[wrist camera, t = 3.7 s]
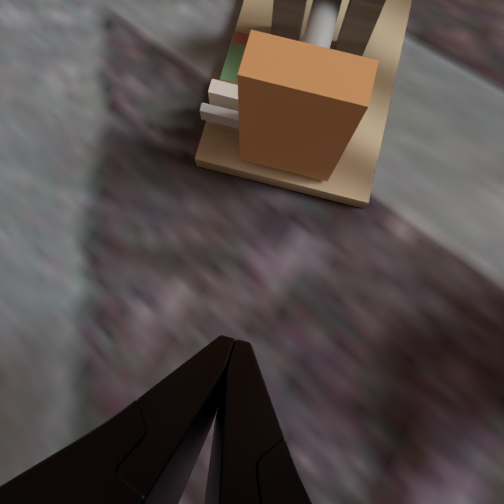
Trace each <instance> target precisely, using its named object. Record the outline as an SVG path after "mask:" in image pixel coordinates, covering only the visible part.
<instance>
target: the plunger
mask: <svg viewBox="0 0 504 504" xmlns="http://www.w3.org/2000/svg"><path fill="white" fill-rule="evenodd" d="M341 3H342V0H313V3H312V6H311V10H310V14H309V17H308V21H307V25H306V28H305V32H304V36H303V39H302V42H301V41H296V40H292V39H288V38H284V37H280V36H276V35H272V34H268V33H263V32H259V31H255V30H251V32H250V35H249V38H248V41H247V45H246V48H245V51H244V55H243V58H242V61H241V65H240V68H239V71H238V74H237V76H238V111H235V110H231V109H227V108H223V107H219V106H215V105H211V104H207V103H203V102H202V104H201V107H200V116H201V119H202V120H206V121H210V122H214V123H218V124H222V125H226V126H230V127H233V128H237V129H239V147H240V159H241V160H245V161H248V162H252V163H256V164H260V165H264V166H268V167H272V168H276V169H280V170H284V171H288V172H292V173H296V174H300V175H304V176H308V177H312V178H315V179H319V180H323V181H327V182H328V180H329V178H330V176H331V174H332V173H333V171H334V169H335V167H336V165H337V163H338V162H339V160H340V158H341V156H342V154H343V152H344V151H345V149H346V147H347V145H348V143H349V142H350V140H351V138H352V136H353V134H354V132H355V131H356V129H357V127H358V125H359V123H360V121H361V120H362V118H363V116H364V114H365V112H366V110H367V109H368V107H369V102H370V98H371V93H372V89H373V85H374V80H375V76H376V71H377V67H378V62H379V60H375V59H371V58H367V57H362V56H358V55H354V54H350V53H346V52H342V51H338V50H334V49H330V46H331V42H332V38H333V34H334V30H335V26H336V22H337V18H338V14H339V10H340V6H341Z"/></svg>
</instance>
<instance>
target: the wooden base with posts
mask: <svg viewBox="0 0 504 504" xmlns="http://www.w3.org/2000/svg"><path fill="white" fill-rule="evenodd" d="M411 2H412V0H342V3H341V6H340V10H339V14H338V18H337V22H336V26H335V30H334V34H333V38H332V42H331V46H330V49H334V50H338V51H342V52H346V53H350V54H354V55H358V56H362V57H367V58H371V59H375V60H379V62H378V67H377V71H376V76H375V80H374V85H373V89H372V93H371V98H370V102H369V107H368V109H367V110H366V112H365V114H364V116H363V118H362V120H361V121H360V123H359V125H358V127H357V129H356V131H355V132H354V134H353V136H352V138H351V140H350V142H349V143H348V145H347V147H346V149H345V151H344V152H343V154H342V156H341V158H340V160H339V162H338V163H337V165H336V167H335V169H334V171H333V173H332V174H331V176H330V178H329V180H328V182H327V181H323V180H319V179H315V178H312V177H308V176H304V175H300V174H296V173H292V172H288V171H284V170H280V169H276V168H272V167H268V166H264V165H260V164H256V163H252V162H248V161H245V160H241V159H240V147H239V129H237V128H233V127H230V126H226V125H222V124H218V123H214V122H210V121H206V124H205V127H204V130H203V133H202V137H201V140H200V143H199V146H198V149H197V153H196V156H195V162H196V165H197V166H199V167H203V168H207V169H211V170H215V171H219V172H222V173H226V174H230V175H234V176H238V177H242V178H246V179H250V180H254V181H258V182H262V183H266V184H270V185H273V186H277V187H281V188H285V189H289V190H293V191H297V192H301V193H305V194H309V195H313V196H317V197H320V198H324V199H328V200H332V201H336V202H340V203H344V204H348V205H352V206H356V207H360V208H364V207H365V206H366V205H367V204H368V203H369V198H370V194H371V189H372V184H373V180H374V175H375V170H376V166H377V161H378V156H379V152H380V147H381V142H382V138H383V133H384V128H385V124H386V119H387V114H388V110H389V105H390V100H391V96H392V91H393V86H394V82H395V77H396V72H397V68H398V63H399V58H400V54H401V49H402V44H403V40H404V35H405V30H406V26H407V21H408V16H409V12H410V7H411ZM312 3H313V0H244V2H243V5H242V8H241V12H240V15H239V18H238V21H237V24H236V28H235V31H234V34H233V37H232V40H231V44H230V47H229V50H228V53H227V56H226V60H225V63H224V66H223V69H222V72H221V76H220V79H219V81H223V82H227V83H231V84H235V85H238V76H237V74H238V71H239V68H240V65H241V61H242V58H243V55H244V51H245V48H246V45H247V41H248V38H249V35H250V32H251V30H255V31H259V32H263V33H268V34H272V35H276V36H280V37H284V38H288V39H292V40H296V41H301V42H302V39H303V36H304V32H305V28H306V25H307V21H308V17H309V14H310V10H311V6H312Z"/></svg>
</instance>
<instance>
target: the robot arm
mask: <svg viewBox="0 0 504 504" xmlns="http://www.w3.org/2000/svg"><path fill="white" fill-rule="evenodd" d="M217 409H218V410H217ZM216 412H217V414H216ZM215 415H216V419H215V425H214V433H213V441H212V448H211V456H210V463H209V471H208V479H207V486H206V494H205V501H204V504H312V503H311V501H310V499H309V497H308V494H307V492H306V490H305V488H304V486H303V484H302V482H301V479H300V477H299V475H298V473H297V470H296V468H295V465H294V463H293V460H292V457H291V455H290V452H289V449H288V446H287V444H286V441H285V440H284V436H283V433H282V431H281V428H280V425H279V422H278V419H277V416H276V414H275V411H274V408H273V405H272V402H271V399H270V397H269V394H268V391H267V388H266V385H265V382H264V380H263V377H262V374H261V371H260V368H259V365H258V363H257V360H256V357H255V354H254V351H253V348H252V346H251V344H250V343H249V342H246V341H242V340H236V341H235V340H234V339H233V338H230V337H226V336H223V335H221V336H219V337H218V338H216V339H215V340H214V341H212V342H211V343H210V344H208V345H207V346H206V347H205V348H203V349H202V350H201V351H199V352H198V353H197V354H195V355H194V356H193V357H192V358H190V359H189V360H188V361H186V362H185V363H184V364H182V365H181V366H180V367H179V368H177V369H176V370H175V371H173V372H172V373H171V374H169V375H168V376H167V377H166V378H164V379H163V380H162V381H160V382H159V383H158V384H156V385H155V386H154V387H153V388H151V389H150V390H149V391H147V392H146V393H145V394H143V395H142V396H141V397H140V398H138V399H137V401H134V402H132V403H131V404H130V405H129V406H127V407H126V408H125V409H123V410H122V411H121V412H119V413H118V414H116V415H115V416H114V417H112V418H111V419H109V420H108V421H107V422H105V423H104V424H102V425H100V426H99V427H97V428H96V429H94V430H92V431H91V432H89V433H88V434H86V435H85V436H83V437H81V438H80V439H78V440H76V441H75V442H73V443H71V444H70V445H68V446H66V447H65V448H63V449H61V450H60V451H58V452H56V453H55V454H53V455H51V456H50V457H48V458H46V459H45V460H43V461H41V462H40V463H38V464H36V465H35V466H33V467H32V468H30V469H28V470H27V471H25V472H23V473H22V474H20V475H18V476H17V477H15V478H13V479H12V480H10V481H8V482H7V483H5V484H3V485H2V486H0V504H178V503H179V501H180V498H181V496H182V494H183V491H184V489H185V487H186V484H187V482H188V480H189V477H190V475H191V473H192V470H193V468H194V465H195V463H196V461H197V458H198V456H199V454H200V451H201V449H202V447H203V444H204V442H205V440H206V437H207V435H208V433H209V430H210V428H211V426H212V423H213V420H214V418H215Z"/></svg>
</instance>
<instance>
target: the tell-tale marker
mask: <svg viewBox="0 0 504 504" xmlns="http://www.w3.org/2000/svg"><path fill="white" fill-rule="evenodd" d="M208 96H209V103H210V104H211V105H215V106H219V107H223V108H227V109H231V110H235V111H238V85H235V84H231V83H227V82H223V81H219V80H215V79H212V80H211V83H210V86H209V90H208Z"/></svg>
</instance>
